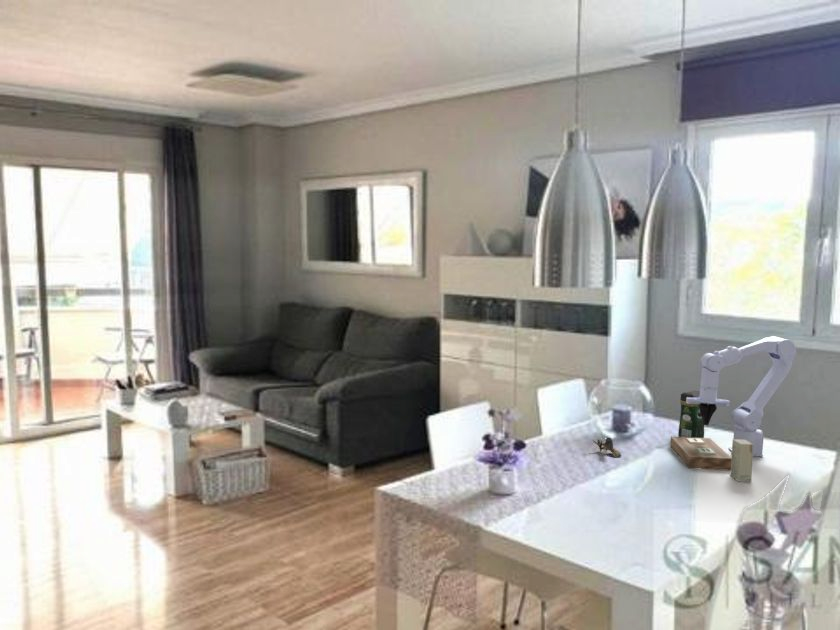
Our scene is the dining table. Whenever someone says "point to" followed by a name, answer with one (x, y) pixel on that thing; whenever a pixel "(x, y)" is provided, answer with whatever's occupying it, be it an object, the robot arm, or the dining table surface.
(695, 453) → the board
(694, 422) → the coffee jar
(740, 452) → the skincare box
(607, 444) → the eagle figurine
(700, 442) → the cream button
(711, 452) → the sage button
